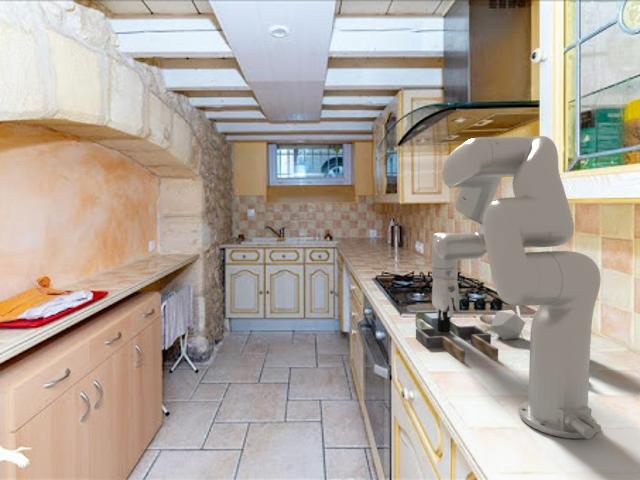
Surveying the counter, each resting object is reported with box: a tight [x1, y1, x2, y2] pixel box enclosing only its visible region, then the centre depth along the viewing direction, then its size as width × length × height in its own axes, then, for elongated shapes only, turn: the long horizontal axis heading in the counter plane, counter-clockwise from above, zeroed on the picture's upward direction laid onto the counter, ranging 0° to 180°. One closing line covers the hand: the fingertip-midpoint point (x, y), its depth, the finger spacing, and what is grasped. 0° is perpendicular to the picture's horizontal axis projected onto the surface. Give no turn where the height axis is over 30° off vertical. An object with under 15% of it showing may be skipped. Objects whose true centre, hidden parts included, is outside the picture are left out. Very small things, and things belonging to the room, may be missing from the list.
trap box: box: [415, 309, 499, 363], centre depth 123 cm, size 33×19×5 cm, turn 7°
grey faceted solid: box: [489, 309, 526, 341], centre depth 126 cm, size 8×9×10 cm
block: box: [424, 313, 451, 334], centre depth 134 cm, size 6×6×5 cm
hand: (443, 331), depth 129 cm, fingers closed
